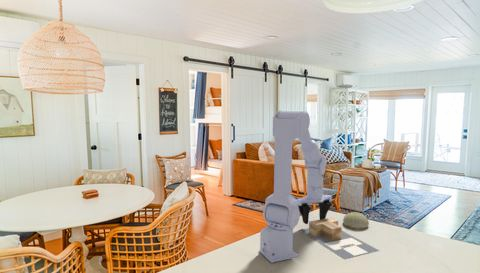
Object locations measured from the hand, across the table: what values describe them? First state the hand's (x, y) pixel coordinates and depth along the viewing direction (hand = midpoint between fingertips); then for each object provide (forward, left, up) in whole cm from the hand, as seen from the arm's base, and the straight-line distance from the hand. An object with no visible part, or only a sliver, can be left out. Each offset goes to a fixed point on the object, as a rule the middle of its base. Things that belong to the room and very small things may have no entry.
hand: (313, 221), depth 112 cm
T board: (0, -12, -2) cm, 12 cm away
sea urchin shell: (+16, -4, -3) cm, 17 cm away
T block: (0, -8, -2) cm, 8 cm away
